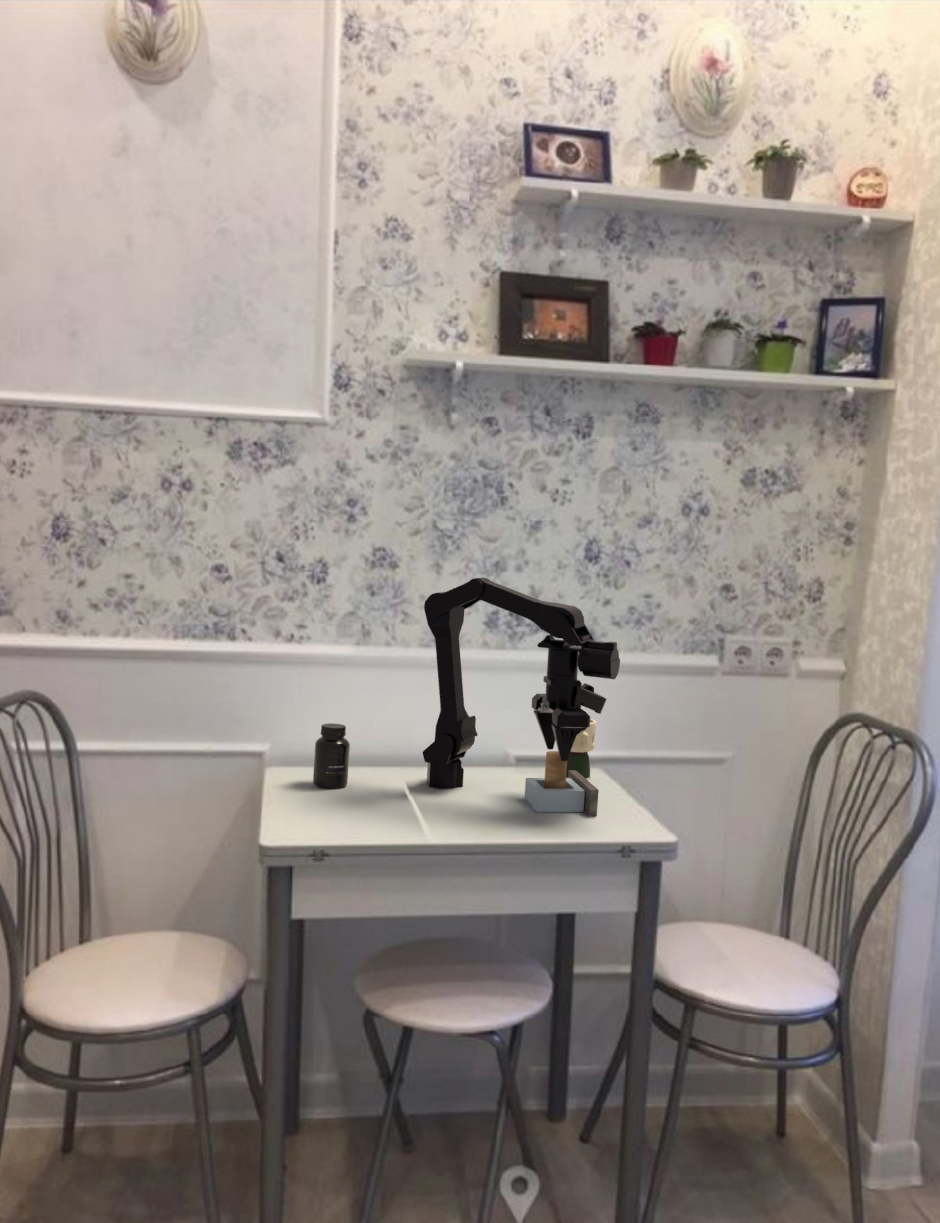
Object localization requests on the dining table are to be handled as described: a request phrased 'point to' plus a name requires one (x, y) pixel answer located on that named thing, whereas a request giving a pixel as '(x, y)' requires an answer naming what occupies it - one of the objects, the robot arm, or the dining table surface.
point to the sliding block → (554, 796)
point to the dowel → (555, 771)
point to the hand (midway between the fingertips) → (557, 754)
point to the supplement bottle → (331, 757)
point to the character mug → (582, 751)
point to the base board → (586, 792)
